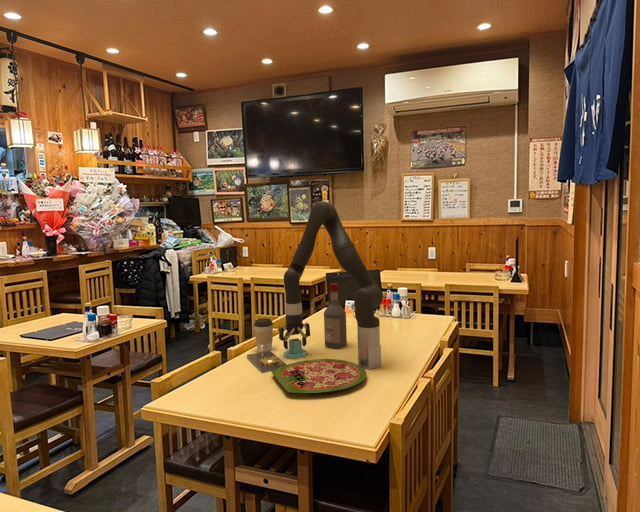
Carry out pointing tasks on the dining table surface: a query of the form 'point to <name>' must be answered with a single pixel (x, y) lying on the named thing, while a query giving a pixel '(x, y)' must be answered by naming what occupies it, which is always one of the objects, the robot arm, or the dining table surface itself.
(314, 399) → the dining table surface
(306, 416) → the dining table surface
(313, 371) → the pizza
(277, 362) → the sun gear
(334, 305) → the liquor
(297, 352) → the teal flanged hub
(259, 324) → the coffee cup
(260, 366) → the plate
